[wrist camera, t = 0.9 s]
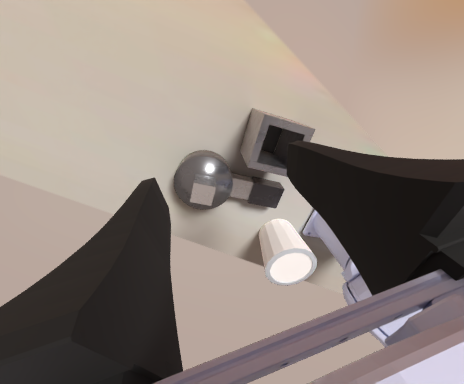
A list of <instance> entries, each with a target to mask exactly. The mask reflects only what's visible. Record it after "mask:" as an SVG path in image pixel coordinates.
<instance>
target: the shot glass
mask: <svg viewBox="0 0 464 384" xmlns="http://www.w3.org/2000/svg"><path fill="white" fill-rule="evenodd" d="M259 240H260V245H261V251H262V257H263V262H264V268H265V273H266V277H267V278H268V279H269V280H270V282H272V283H275V284H277V285H287V286H288V285H292V284H297V283H299V282H301V281H303V280H305V279H307V278H308V277H309V276H310V275H311V274H313V272H314V270H315V268H316V267H317V258H316V257H315V255H314V254H313V252H312V251H311V250H310V248H309V247H308V246H307V245H306V243H305V242H304V241H303V239H302V238H301V237H300V235H299V234H298V233H297V231H296V230H295V229H294V227H293V226H292V225H291V224H290V222H288V221H286V220H284V219H274V220H270V221H269V222H267V223H265V224H264V225H263V226H262V227H261V229H260V231H259Z"/></svg>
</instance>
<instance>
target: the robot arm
mask: <svg viewBox="0 0 464 384" xmlns="http://www.w3.org/2000/svg"><path fill="white" fill-rule="evenodd" d="M286 175H287V176H288V178H289V179H290V181H291V183H292V184H293V185H294V187H295V188H296V189H297V191H298V192H299V193H300V194H301V195H302V196H303V197H304V198H305V199H306V200H307V202H308V203H309V204H310V205H311V206H312V207H313V208H314V209H315V210H314V211H313V213H312V215H311V217H310V219H309V221H308V222H307V224H306V226H305V228H304V230H303V234H304V235H307V236H312V237H318V238H321V239H322V241H323V242H324V244H325V245H326V246H327V248H328V249H329V250H330V252H331V253H332V255H333V256H334V257H335V259H336V260H337V261H338V263H339V264H340V266H341V267H342V268H343V270H344V271H343V272H342V273H341V274H342V276H343V277H344V279H345V280H346V281H347V282H346V283H344V284H343V286H342V288H343V295H344V298H345V300H346V302H347V304H348V306H346V307H344V308H341V309H338V310H336V311H333V312H331V313H328V314H326V315H323V316H321V317H318V318H316V319H313V320H311V321H308V322H306V323H303V324H301V325H298V326H296V327H293V328H291V329H288V330H286V331H283V332H281V333H278V334H276V335H273V336H271V337H268V338H265V339H263V340H261V341H258V342H255V343H253V344H250V345H248V346H246V347H243V348H240V349H238V350H235V351H233V352H230V353H228V354H225V355H223V356H220V357H218V358H215V359H213V360H210V361H208V362H205V363H203V364H200V365H198V366H195V367H193V368H190V369H188V370H185V371H183V367H182V361H181V355H180V348H179V341H178V335H177V327H176V319H175V311H174V304H173V303H174V302H173V294H172V283H171V273H170V241H171V239H170V238H171V222H170V214H169V207H168V205H167V203H166V201H165V199H164V197H163V194H162V192H161V190H160V188H159V186H158V184H157V181H156V179H155V178H151V179H147V180H144V181H142V182H141V183H140V184H139V185H138V186H137V188H136V189H135V190H134V191H133V193H132V194H131V195H130V196H129V198H128V199H127V200H126V202H125V203H124V204H123V205H122V206H121V208H120V209H119V210H118V211H117V212H116V213H115V214H114V216H113V217H112V218H111V219H110V220H109V221H108V222H107V224H105V226H104V227H103V228H102V229H101V230H100V231H99V232H98V233H97V234H95V235H94V236H93V237H92V238H91V239H90V240H89V241H88V242H87V243H86V244H85V245H84V246H82V247H81V248H80V249H79V250H77V252H75V253H74V254H73V255H72V256H70V257H69V258H68V259H67V260H65V261H64V262H63V263H62V264H61V265H59V266H58V267H57V268H55V269H54V270H53V271H51V272H50V273H49V274H47V275H46V276H45V277H43V278H42V279H41V280H39V281H38V282H36V283H35V284H34V285H32V286H31V287H29V288H28V289H27V290H25V291H24V292H22V293H21V294H19V295H18V296H17V297H15V298H13V299H12V300H10V301H9V302H7V303H6V304H4V305H3V306H1V307H0V384H247V383H249V382H251V381H254V380H256V379H259V378H261V377H263V376H266V375H268V374H270V373H273V372H275V371H277V370H280V369H282V368H284V367H287V366H289V365H291V364H294V363H296V362H298V361H301V360H303V359H306V358H308V357H310V356H313V355H315V354H317V353H320V352H322V351H324V350H326V349H329V348H331V347H334V346H336V345H338V344H341V343H343V342H345V341H348V340H350V339H353V338H355V337H357V336H359V335H362V334H364V333H367V332H370V333H371V334H372V335H373V336H374V337H375V338H377V339H378V340H379V341H380V342H381V343H382V344H383V345H384V346H385V348H383V349H381V350H379V351H376V352H374V353H372V354H370V355H368V356H365V357H363V358H361V359H359V360H357V361H354V362H352V363H350V364H348V365H346V366H344V367H342V368H339V369H337V370H335V371H333V372H331V373H329V374H327V375H325V376H322V377H320V378H318V379H316V380H314V381H312V382H310V383H308V384H464V159H462V160H434V159H432V160H431V159H430V160H429V159H407V158H394V157H384V156H376V155H368V154H362V153H357V152H351V151H346V150H341V149H337V148H332V147H328V146H324V145H320V144H315V143H311V142H306V141H295V142H291V143H288V155H287V174H286Z"/></svg>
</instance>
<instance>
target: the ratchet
mask: <svg viewBox="0 0 464 384" xmlns="http://www.w3.org/2000/svg"><path fill="white" fill-rule="evenodd" d="M174 187H175V191H176V193H177V195H178V196H179V198H180V199H181V200H182V201H183V202H184V203H186V204H187V205H189V206H191V207H193V208H197V209H212V208H215V207H217V206H219V205H221V204H223V203H224V202H225V201H226V200H227V199H228V197H229V196H231V197H236V198H240V199H245V200H247V201H248V203H251V204H256V205H261V206H266V207H271V208H276V207H277V205H278V203H279V200H280V198H281V196H282V194H283V191H284V188H283V187H282V185H281V184H280V183H279V182H274V181H270V180H266V179H261V178H257V177H252V178H251V177H246V176H242V175H238V174H233V173H231V170H230V167H229V165H228V163H227V162H226V160H225V159H224V158H223V157H221V156H220V155H219V154H217V153H215V152H212V151H207V150H201V151H195V152H193V153H191V154H189V155H187V156H186V157H185V158H184V159H183V160H182V161H181V163H180V165H179V167H178V169H177V171H176V174H175V177H174Z"/></svg>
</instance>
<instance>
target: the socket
mask: <svg viewBox="0 0 464 384" xmlns="http://www.w3.org/2000/svg"><path fill="white" fill-rule="evenodd" d="M269 125H273V126H276V127H280V128H283V129H282V132H281V135H280V137H279V140H278V143H277V145H276V148H275V151H274V153H271V152H267V151H263V150H261V147H262V144H263V141H264V139H265V136H266V133H267V130H268V127H269ZM314 131H315V129H313V128H311V127H308V126H305V125H303V124H300V123H298V122H295V121H292V120H289V119H286V118H283V117H279V116H276V115H273V114H269V113H266V112H263V111H260V110H256V109H253V108H252V111H251V115H250V118H249V121H248V125H247V128H246V131H245V135H244V138H243V142H242V145H241V148H240V152H241V154H242V156H243V159H244V161H245V163H246V165H247V167H248V168H252V169H257V170H261V171H265V172H269V173H274V174H278V175H282V176H286V177H288V176H287V175H286V174H287V155H288V143H291V142H295V141H306V142H310V140H311V138H312V136H313V134H314Z"/></svg>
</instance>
